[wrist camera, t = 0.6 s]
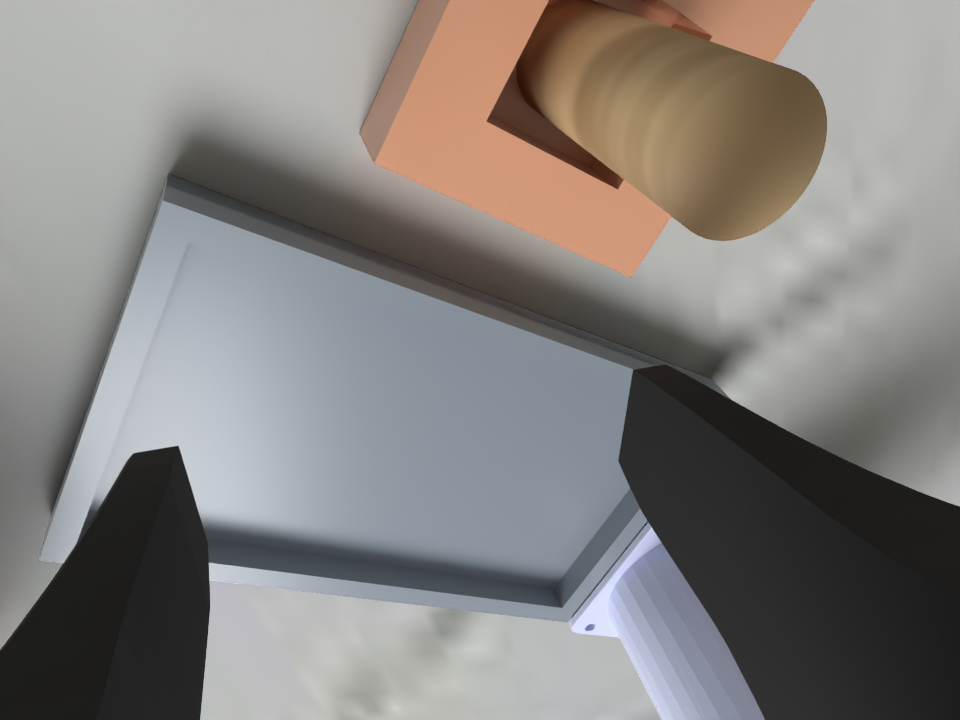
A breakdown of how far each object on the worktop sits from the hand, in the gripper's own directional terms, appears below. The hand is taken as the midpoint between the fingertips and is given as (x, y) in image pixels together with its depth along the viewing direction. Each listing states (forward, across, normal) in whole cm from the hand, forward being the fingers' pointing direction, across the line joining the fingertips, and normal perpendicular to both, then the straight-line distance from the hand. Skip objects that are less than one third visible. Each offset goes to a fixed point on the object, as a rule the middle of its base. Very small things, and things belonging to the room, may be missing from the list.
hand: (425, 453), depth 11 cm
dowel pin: (+10, -6, -4) cm, 12 cm away
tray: (+10, -2, +9) cm, 14 cm away
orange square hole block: (+10, -6, -4) cm, 13 cm away
